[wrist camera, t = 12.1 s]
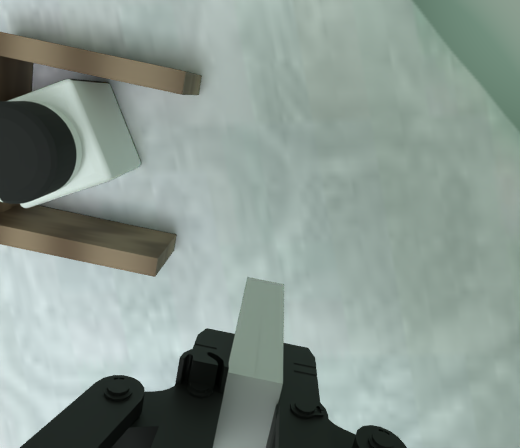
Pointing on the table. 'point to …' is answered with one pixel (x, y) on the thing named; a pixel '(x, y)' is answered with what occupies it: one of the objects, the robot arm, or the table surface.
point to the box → (67, 223)
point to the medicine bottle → (62, 142)
